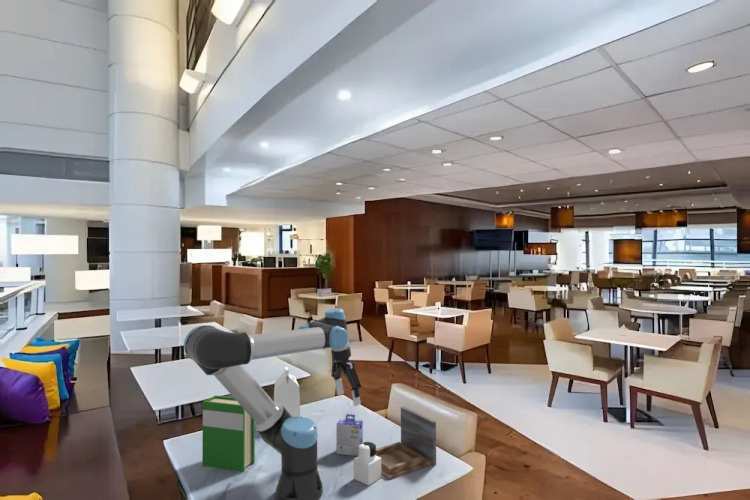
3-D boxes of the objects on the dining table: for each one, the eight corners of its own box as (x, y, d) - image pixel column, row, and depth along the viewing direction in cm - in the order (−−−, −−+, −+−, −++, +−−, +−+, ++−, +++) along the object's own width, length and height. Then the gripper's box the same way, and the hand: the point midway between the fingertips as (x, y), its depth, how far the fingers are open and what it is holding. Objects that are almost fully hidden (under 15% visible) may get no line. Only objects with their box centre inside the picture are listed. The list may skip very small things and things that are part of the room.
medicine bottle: (366, 471, 155) (366, 438, 155) (381, 477, 151) (381, 443, 151) (353, 479, 150) (353, 444, 150) (368, 486, 145) (368, 450, 145)
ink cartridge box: (363, 450, 172) (363, 414, 172) (360, 456, 167) (360, 419, 167) (339, 448, 174) (339, 412, 174) (336, 454, 169) (335, 417, 169)
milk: (273, 420, 204) (273, 366, 204) (297, 418, 207) (297, 364, 208) (274, 430, 192) (275, 372, 193) (300, 427, 196) (300, 370, 196)
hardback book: (254, 463, 162) (254, 399, 162) (243, 472, 155) (243, 406, 155) (215, 457, 167) (215, 395, 167) (202, 465, 160) (202, 401, 160)
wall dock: (391, 480, 148) (390, 434, 149) (361, 458, 165) (361, 416, 165) (436, 464, 160) (435, 421, 160) (403, 445, 176) (403, 406, 177)
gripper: (364, 351, 158) (373, 405, 160) (334, 339, 179) (342, 387, 181) (347, 357, 154) (356, 413, 156) (318, 344, 175) (326, 393, 177)
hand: (348, 399), depth 169 cm, fingers open, 13 cm apart
